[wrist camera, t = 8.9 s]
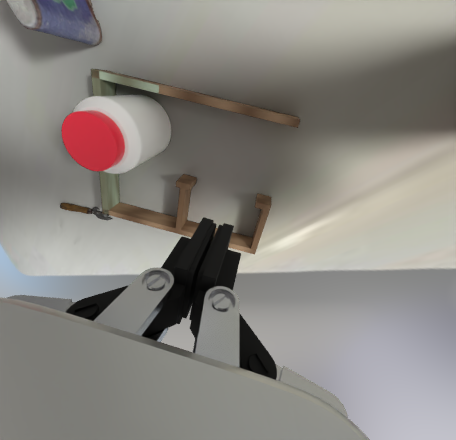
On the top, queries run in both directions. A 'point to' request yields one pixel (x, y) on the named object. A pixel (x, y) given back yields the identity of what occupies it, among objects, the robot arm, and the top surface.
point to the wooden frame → (110, 182)
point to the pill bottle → (116, 132)
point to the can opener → (84, 210)
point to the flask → (59, 18)
